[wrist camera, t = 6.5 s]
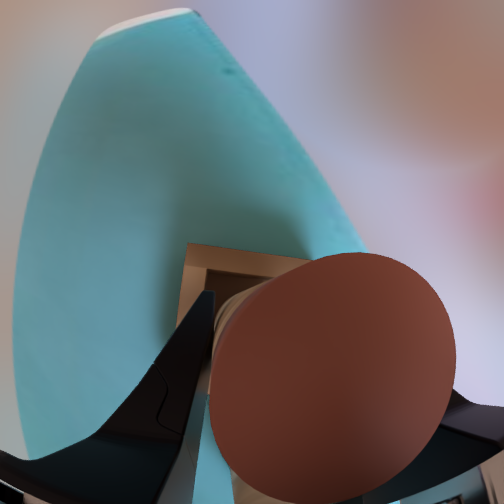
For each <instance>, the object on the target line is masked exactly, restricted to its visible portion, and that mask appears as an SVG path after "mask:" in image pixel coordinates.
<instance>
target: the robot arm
mask: <svg viewBox="0 0 504 504" xmlns="http://www.w3.org/2000/svg"><path fill="white" fill-rule="evenodd" d="M214 319H215V291H211V290H203V291H202V292H201V293H200V295H199V296H198V297H197V299H196V300H195V302H194V303H193V305H192V306H191V308H190V309H189V311H188V312H187V313H186V315H185V316H184V318H183V319H182V321H181V322H180V324H179V325H178V327H177V328H176V330H175V331H174V333H173V334H172V335H171V337H170V338H169V340H168V341H167V343H166V344H165V346H164V347H163V349H162V350H161V352H160V353H159V355H158V356H157V358H156V359H155V361H154V364H152V365H151V366H150V368H149V369H148V371H147V372H146V374H145V375H144V377H143V378H142V379H141V381H140V382H139V384H138V385H137V386H136V387H135V389H134V390H133V391H132V392H131V393H130V395H129V396H128V397H127V398H126V399H125V401H124V402H123V403H122V404H121V405H120V406H119V407H118V408H117V410H116V411H115V412H114V413H113V414H112V415H111V416H110V417H109V419H108V420H107V421H106V422H105V423H104V424H103V425H102V426H101V427H100V428H99V429H98V430H97V431H96V432H95V433H93V434H92V435H91V436H89V437H88V438H86V439H84V440H81V441H79V442H77V443H75V444H73V445H71V446H68V447H66V448H64V449H61V450H59V451H57V452H55V453H52V454H50V455H47V456H45V457H43V458H40V459H36V460H22V459H19V458H17V457H15V456H13V455H11V454H9V453H7V452H4V451H2V450H0V479H1V480H3V481H4V482H6V483H8V484H10V485H12V486H13V487H15V488H17V489H19V490H21V491H23V492H24V493H22V492H20V491H18V490H16V489H14V488H12V487H10V486H8V485H6V484H4V483H2V482H0V504H192V498H193V490H194V482H195V475H196V468H197V460H198V453H199V446H200V439H201V432H202V426H203V419H204V412H205V406H206V399H207V393H208V386H209V380H210V374H211V366H212V350H213V338H214ZM362 496H363V503H364V504H389V503H392V502H395V501H398V500H400V504H504V407H499V406H489V405H480V404H476V403H473V402H470V401H469V400H467V399H465V398H464V397H463V396H462V395H460V394H459V393H458V392H457V391H455V390H454V389H452V392H451V396H450V400H449V403H448V405H447V408H446V411H445V413H444V415H443V417H442V420H441V422H440V424H439V425H438V427H437V429H436V431H435V432H434V434H433V436H432V437H431V439H430V440H429V442H428V443H427V444H426V446H425V447H424V448H423V449H422V451H421V452H420V453H419V454H418V455H417V456H416V457H415V459H414V460H413V461H412V462H411V463H410V464H409V465H408V466H406V467H405V468H404V469H403V470H402V471H401V472H399V473H398V474H397V475H396V476H394V477H393V478H391V479H390V480H389V481H387V482H386V483H384V484H382V485H380V486H379V487H377V488H375V489H373V490H371V491H369V492H367V493H365V494H362Z"/></svg>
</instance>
